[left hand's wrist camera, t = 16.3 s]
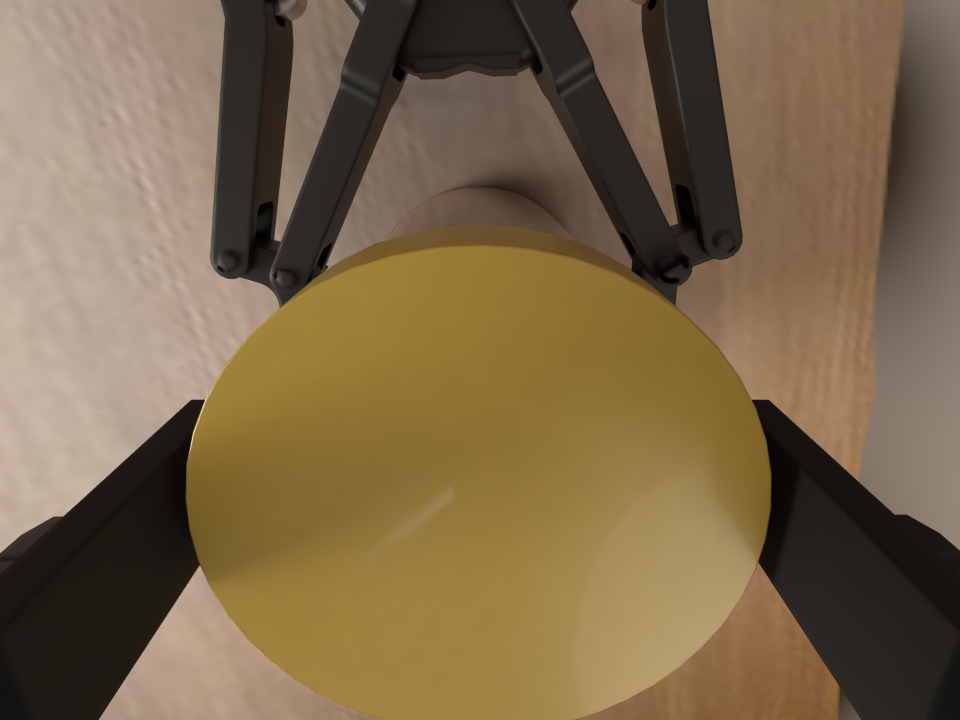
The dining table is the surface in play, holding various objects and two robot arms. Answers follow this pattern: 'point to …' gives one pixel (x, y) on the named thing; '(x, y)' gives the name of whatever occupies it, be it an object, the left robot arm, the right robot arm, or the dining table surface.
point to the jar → (479, 212)
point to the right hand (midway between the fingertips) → (483, 445)
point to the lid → (478, 481)
